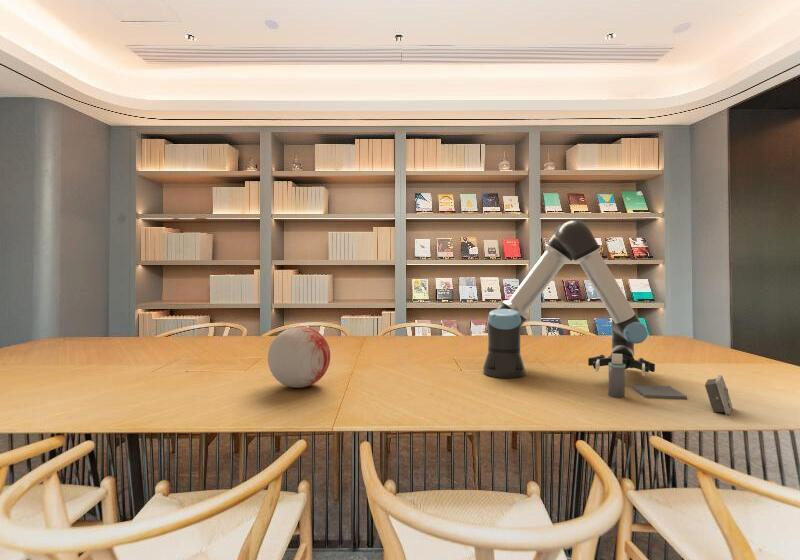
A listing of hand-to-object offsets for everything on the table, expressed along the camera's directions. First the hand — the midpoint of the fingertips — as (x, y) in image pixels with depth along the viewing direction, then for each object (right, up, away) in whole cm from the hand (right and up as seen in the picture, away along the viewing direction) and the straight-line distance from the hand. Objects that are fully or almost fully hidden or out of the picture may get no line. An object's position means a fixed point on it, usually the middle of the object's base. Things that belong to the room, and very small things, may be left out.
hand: (619, 369), depth 151 cm
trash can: (-4, -7, -5) cm, 10 cm away
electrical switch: (+19, -8, -19) cm, 28 cm away
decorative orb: (-104, -7, +5) cm, 104 cm away
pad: (+11, -7, -2) cm, 13 cm away
